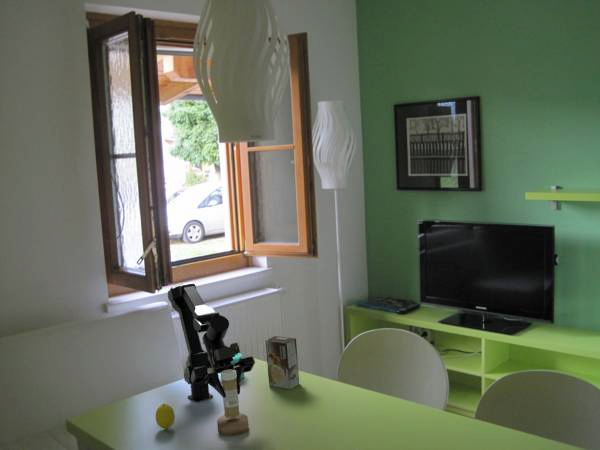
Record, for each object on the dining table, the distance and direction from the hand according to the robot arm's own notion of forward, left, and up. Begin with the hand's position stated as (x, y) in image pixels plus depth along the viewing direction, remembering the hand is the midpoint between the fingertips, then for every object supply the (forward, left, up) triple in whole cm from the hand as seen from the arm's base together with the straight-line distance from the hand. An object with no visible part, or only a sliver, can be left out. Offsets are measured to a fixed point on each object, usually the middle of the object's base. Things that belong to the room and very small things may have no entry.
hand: (231, 395), depth 195 cm
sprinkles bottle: (-1, 0, -7) cm, 7 cm away
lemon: (-16, -14, -11) cm, 24 cm away
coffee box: (-18, +32, -11) cm, 39 cm away
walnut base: (-1, 0, -11) cm, 11 cm away
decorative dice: (-38, +24, -11) cm, 47 cm away
